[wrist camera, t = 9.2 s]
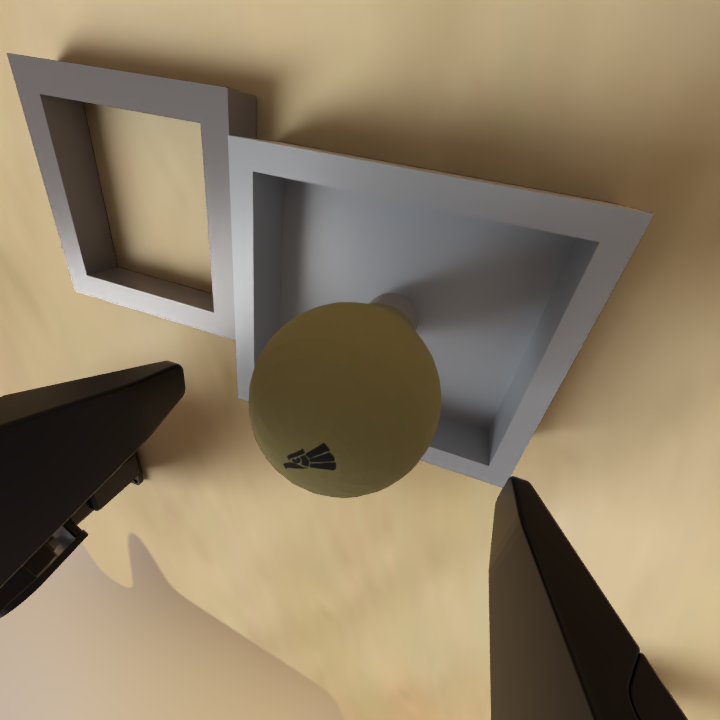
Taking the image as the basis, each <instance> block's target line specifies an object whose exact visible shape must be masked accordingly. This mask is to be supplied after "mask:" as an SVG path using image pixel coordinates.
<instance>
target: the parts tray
mask: <svg viewBox="0 0 720 720" xmlns="http://www.w3.org/2000/svg"><path fill="white" fill-rule="evenodd" d="M228 153H229V179H230V205H231V232H232V258H233V284H234V311H235V337H236V363H237V390H238V398H239V399H242V400H245V401H248V402H249V385H250V381H251V377H252V374H253V370H254V368H255V365H256V363H257V360H258V358H259V356H260V354H261V352H262V350H263V349H264V347H265V346H266V345H267V343H268V342H269V340H270V339H271V338H272V336H273V335H274V334H275V333H276V332H277V331H279V330H280V329H281V328H282V327H283V326H284V325H285V324H286V323H287V322H289V321H290V320H292V319H293V318H295V317H296V316H298V315H299V314H302V313H304V312H306V311H308V310H310V309H313V308H316V307H319V306H322V305H327V304H332V303H336V302H357V303H365V304H368V303H370V302H371V301H372V300H373V299H374V298H375V297H377V296H379V295H381V294H384V293H396V294H400V295H402V296H404V297H406V298H407V299H409V300H410V301H411V302H412V303H413V305H414V306H415V308H416V310H417V313H418V325H417V329H416V332H417V333H418V335H419V336H420V337H421V339H422V340H423V341H424V343H425V345H426V346H427V348H428V350H429V351H430V353H431V355H432V357H433V359H434V362H435V365H436V368H437V371H438V375H439V379H440V387H441V396H442V397H441V409H440V417H439V422H438V426H437V429H436V431H435V434H434V436H433V439H432V441H431V443H430V446H429V448H428V449H427V451H426V453H425V454H424V455H423V456H422V458H421V459H420V460H422V461H425V462H428V463H431V464H434V465H436V466H439V467H442V468H445V469H448V470H451V471H454V472H457V473H460V474H463V475H466V476H469V477H472V478H475V479H478V480H481V481H484V482H486V483H489V484H492V485H495V486H498V487H501V488H503V487H504V485H505V483H506V482H507V480H508V479H509V477H510V475H511V474H512V472H513V470H514V468H515V466H516V465H517V463H518V461H519V459H520V457H521V456H522V454H523V452H524V450H525V448H526V446H527V445H528V443H529V441H530V439H531V437H532V436H533V434H534V432H535V430H536V428H537V426H538V425H539V423H540V421H541V419H542V417H543V416H544V414H545V412H546V410H547V408H548V407H549V405H550V403H551V401H552V399H553V397H554V396H555V394H556V392H557V390H558V388H559V387H560V385H561V383H562V381H563V379H564V378H565V376H566V374H567V372H568V370H569V368H570V367H571V365H572V363H573V361H574V359H575V358H576V356H577V354H578V352H579V350H580V348H581V347H582V345H583V343H584V341H585V339H586V338H587V336H588V334H589V332H590V330H591V329H592V327H593V325H594V323H595V321H596V319H597V318H598V316H599V314H600V312H601V310H602V309H603V307H604V305H605V303H606V301H607V300H608V298H609V296H610V294H611V292H612V290H613V289H614V287H615V285H616V283H617V281H618V280H619V278H620V276H621V274H622V272H623V270H624V269H625V267H626V265H627V263H628V261H629V260H630V258H631V256H632V254H633V252H634V251H635V249H636V247H637V245H638V243H639V241H640V240H641V238H642V236H643V234H644V232H645V231H646V229H647V227H648V225H649V223H650V222H651V220H652V218H653V216H654V214H652V213H648V212H644V211H641V210H637V209H633V208H630V207H626V206H622V205H619V204H614V203H609V202H604V201H598V200H593V199H587V198H582V197H576V196H571V195H565V194H560V193H555V192H549V191H544V190H538V189H533V188H527V187H522V186H516V185H511V184H506V183H500V182H495V181H489V180H484V179H478V178H473V177H467V176H462V175H457V174H451V173H446V172H440V171H435V170H429V169H424V168H419V167H413V166H408V165H402V164H397V163H391V162H386V161H380V160H375V159H370V158H364V157H359V156H353V155H348V154H342V153H337V152H331V151H326V150H321V149H315V148H310V147H304V146H299V145H293V144H288V143H282V142H277V141H269V140H262V139H254V138H246V137H238V136H230V135H228Z"/></svg>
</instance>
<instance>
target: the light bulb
mask: <svg viewBox="0 0 720 720" xmlns="http://www.w3.org/2000/svg"><path fill="white" fill-rule="evenodd" d="M417 325H418V313H417V310H416V308H415V306H414V305H413V303H412V302H411V301H410V300H409V299H407V298H406V297H404V296H402V295H400V294H396V293H384V294H381V295H379V296H377V297H375V298H374V299H373V300H372V301H371V302H370V303H368V304H365V303H357V302H336V303H332V304H327V305H322V306H319V307H316V308H313V309H310V310H308V311H306V312H304V313H302V314H299V315H298V316H296V317H295V318H293V319H292V320H290V321H289V322H287V323H286V324H285V325H284V326H283V327H282V328H281V329H280V330H279V331H277V332H276V333H275V334H274V335H273V336H272V338H271V339H270V340H269V342H268V343H267V345H266V346H265V347H264V349H263V350H262V352H261V354H260V356H259V358H258V360H257V363H256V365H255V368H254V370H253V374H252V377H251V381H250V385H249V416H250V421H251V425H252V429H253V432H254V436H255V439H256V441H257V443H258V445H259V447H260V449H261V451H262V452H263V454H264V455H265V457H266V458H267V459H268V461H269V462H270V463H271V464H272V466H273V467H274V468H275V469H276V470H277V471H278V472H279V473H281V474H282V475H283V476H284V477H286V478H287V479H288V480H289V481H291V482H292V483H293V484H295V485H297V486H299V487H302V488H304V489H306V490H308V491H310V492H312V493H315V494H320V495H325V496H330V497H340V498H349V497H358V496H362V495H366V494H370V493H374V492H378V491H380V490H382V489H384V488H386V487H388V486H390V485H392V484H393V483H395V482H396V481H398V480H399V479H401V478H402V477H403V476H405V475H406V474H407V473H409V472H410V471H411V470H412V469H413V468H414V466H415V465H416V464H417V463H418V462H419V460H420V459H421V458H422V456H423V455H424V454H425V453H426V451H427V449H428V448H429V446H430V443H431V441H432V439H433V436H434V434H435V431H436V429H437V426H438V422H439V417H440V409H441V397H442V396H441V387H440V379H439V375H438V371H437V368H436V365H435V362H434V359H433V357H432V355H431V353H430V351H429V350H428V348H427V346H426V345H425V343H424V341H423V340H422V339H421V337H420V336H419V335H418V333H417V332H416V329H417Z"/></svg>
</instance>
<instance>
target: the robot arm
mask: <svg viewBox="0 0 720 720" xmlns="http://www.w3.org/2000/svg"><path fill="white" fill-rule="evenodd" d="M184 393H185V381H184V374H183V368H182V367H181V365H179V364H177V363H174V362H171V361H162V362H158V363H153V364H148V365H144V366H139V367H135V368H130V369H125V370H121V371H116V372H111V373H107V374H102V375H97V376H93V377H88V378H83V379H79V380H74V381H69V382H65V383H60V384H55V385H51V386H46V387H41V388H37V389H32V390H27V391H23V392H18V393H13V394H9V395H4V396H2V397H0V618H1V617H3V616H4V615H6V614H7V613H9V612H10V611H12V610H13V609H14V608H16V607H17V606H18V605H19V604H21V603H22V602H23V601H24V600H26V599H27V598H28V597H29V596H30V595H31V594H32V593H33V592H34V591H36V590H37V589H38V588H39V587H40V586H41V585H42V584H43V582H45V580H46V579H47V578H48V577H49V576H50V575H51V574H52V573H53V572H54V571H55V570H56V569H57V568H58V567H59V565H61V563H62V562H63V561H64V560H65V559H66V558H67V557H68V556H69V555H70V554H71V553H72V552H73V551H74V550H75V549H76V547H77V546H78V545H79V544H80V543H81V542H82V541H83V540H84V539H85V538H86V537H87V536H88V533H87V532H85V531H84V530H81V529H80V528H79V527H78V526H77V525H78V524H79V523H80V522H81V521H82V520H83V519H84V518H86V517H87V516H88V515H89V514H90V513H91V512H92V511H94V510H95V511H98V510H100V509H101V508H102V507H104V506H105V505H106V504H107V503H108V502H109V501H110V500H111V499H113V498H114V497H115V496H116V495H117V494H118V493H119V492H121V491H122V490H123V489H124V488H125V487H126V486H127V485H128V484H130V483H134V484H136V485H140V484H141V483H142V482H143V476H142V472H141V468H140V464H139V460H138V456H137V452H136V450H137V449H138V448H139V447H140V446H141V445H142V444H143V443H144V442H145V441H146V440H147V439H148V438H149V437H150V436H151V435H152V433H153V432H154V431H155V430H156V429H157V427H158V426H159V425H160V424H161V423H162V421H163V420H164V419H165V418H166V416H167V415H168V414H169V413H170V412H171V410H172V409H173V408H174V407H175V405H176V404H177V403H178V402H179V401H180V399H181V398H182V397H183V395H184ZM489 621H490V678H491V720H688V719H687V717H686V716H685V714H684V713H683V711H682V710H681V709H680V707H679V706H678V704H677V703H676V701H675V700H674V698H673V697H672V695H671V694H670V692H669V691H668V690H667V688H666V687H665V685H664V684H663V682H662V681H661V679H660V678H659V676H658V675H657V673H656V672H655V670H654V669H653V667H652V666H651V664H650V663H649V661H648V660H647V658H646V657H645V655H644V654H643V653H639V652H640V648H639V646H638V645H637V643H636V642H635V640H634V639H633V637H632V636H631V634H630V633H629V631H628V630H627V628H626V627H625V625H624V624H623V622H622V621H621V619H620V618H619V616H618V615H617V613H616V612H615V610H614V609H613V607H612V606H611V604H610V603H609V601H608V600H607V598H606V597H605V595H604V593H603V592H602V590H601V589H600V587H599V586H598V584H597V583H596V581H595V580H594V578H593V577H592V575H591V574H590V572H589V571H588V569H587V568H586V566H585V565H584V563H583V562H582V560H581V559H580V557H579V556H578V554H577V553H576V551H575V550H574V548H573V547H572V545H571V544H570V542H569V541H568V539H567V538H566V536H565V535H564V533H563V532H562V530H561V529H560V527H559V526H558V524H557V522H556V521H555V519H554V518H553V516H552V515H551V513H550V512H549V510H548V509H547V507H546V506H545V504H544V503H543V501H542V500H541V498H540V497H539V495H538V494H537V492H536V491H535V489H534V488H533V486H532V485H531V483H530V482H528V481H526V480H523V479H520V478H517V477H514V476H511V477H510V478H509V479H508V480H507V482H506V483H505V485H504V487H503V489H502V491H501V492H500V494H499V496H498V498H497V501H496V505H495V512H494V522H493V532H492V542H491V552H490V563H489Z"/></svg>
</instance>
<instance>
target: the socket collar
mask: <svg viewBox="0 0 720 720" xmlns="http://www.w3.org/2000/svg"><path fill="white" fill-rule="evenodd" d="M7 55H8V59H9V62H10V66H11V69H12V73H13V76H14V80H15V83H16V87H17V90H18V94H19V97H20V101H21V104H22V108H23V111H24V115H25V118H26V122H27V125H28V129H29V132H30V136H31V139H32V143H33V146H34V150H35V153H36V157H37V160H38V164H39V167H40V171H41V174H42V178H43V181H44V185H45V188H46V192H47V195H48V199H49V202H50V206H51V209H52V213H53V216H54V220H55V223H56V227H57V230H58V234H59V237H60V241H61V244H62V248H63V251H64V255H65V258H66V262H67V266H68V269H69V273H70V276H71V280H72V283H73V287H74V290H75V291H76V292H79V293H82V294H85V295H89V296H92V297H95V298H98V299H102V300H105V301H108V302H112V303H115V304H118V305H121V306H125V307H128V308H131V309H134V310H138V311H141V312H144V313H147V314H151V315H154V316H157V317H161V318H164V319H167V320H170V321H174V322H177V323H180V324H183V325H187V326H190V327H193V328H196V329H200V330H203V331H206V332H209V333H213V334H216V335H219V336H223V337H226V338H229V339H232V340H236V337H235V311H234V284H233V258H232V232H231V205H230V179H229V153H228V135H230V136H238V137H246V138H254V139H256V96H253V95H250V94H247V93H243V92H240V91H237V90H234V89H231V88H227V87H221V86H215V85H208V84H202V83H196V82H189V81H183V80H176V79H170V78H164V77H157V76H151V75H145V74H138V73H132V72H125V71H119V70H113V69H106V68H100V67H94V66H87V65H81V64H74V63H68V62H62V61H55V60H49V59H43V58H36V57H30V56H24V55H17V54H11V53H7ZM83 102H87V103H93V104H98V105H104V106H109V107H115V108H120V109H126V110H131V111H137V112H142V113H148V114H153V115H159V116H164V117H170V118H175V119H181V120H186V121H192V122H197V123H201V135H202V149H203V163H204V177H205V191H206V205H207V219H208V233H209V248H210V262H211V276H212V290H213V294H211V293H208V292H204V291H200V290H197V289H193V288H190V287H186V286H183V285H179V284H176V283H172V282H169V281H165V280H162V279H158V278H154V277H151V276H147V275H144V274H140V273H137V272H133V271H130V270H126V269H123V268H119V267H117V262H116V258H115V253H114V248H113V244H112V239H111V234H110V229H109V225H108V220H107V215H106V210H105V206H104V201H103V196H102V191H101V187H100V182H99V177H98V173H97V168H96V163H95V158H94V154H93V149H92V144H91V139H90V135H89V130H88V125H87V120H86V116H85V111H84V106H83Z"/></svg>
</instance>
